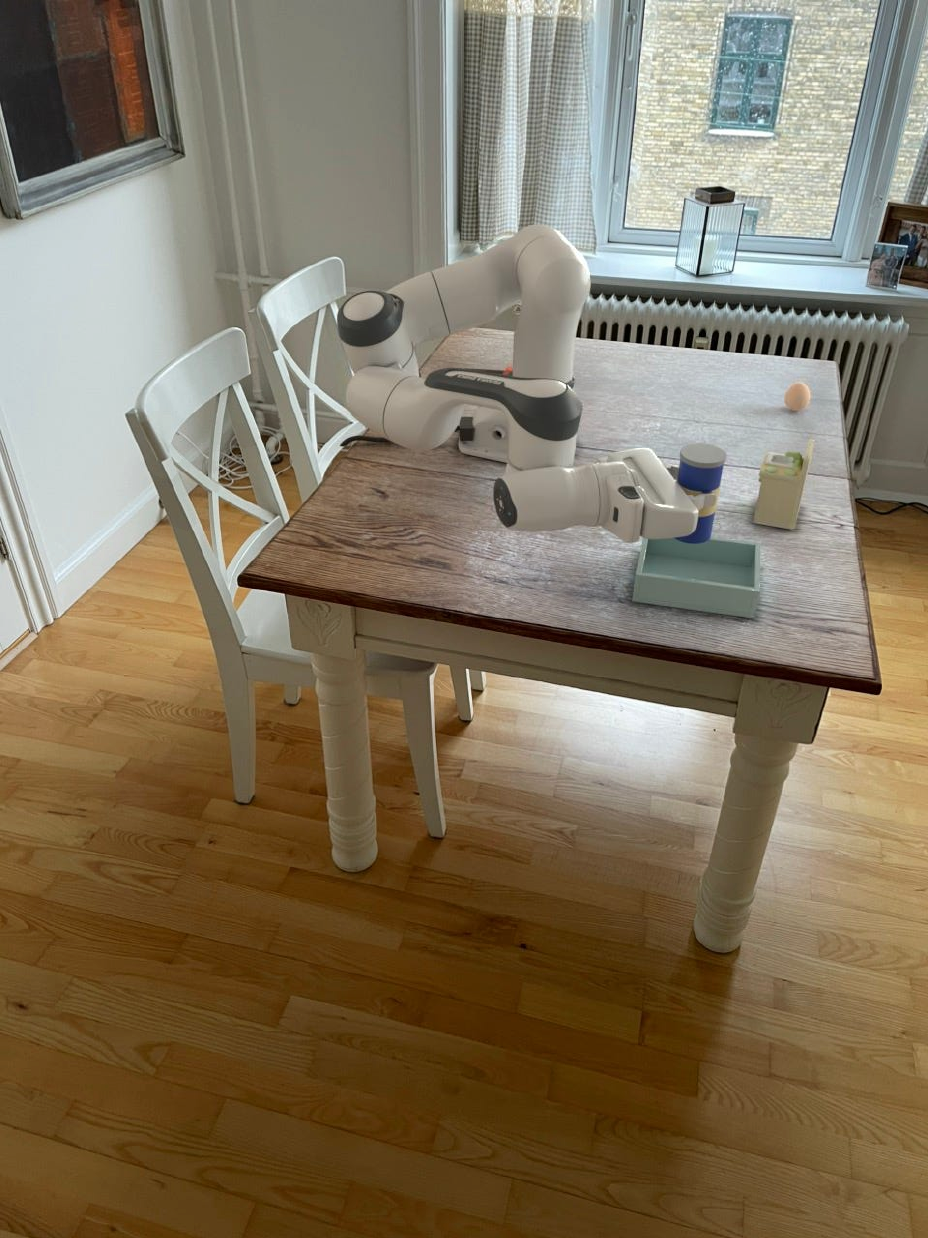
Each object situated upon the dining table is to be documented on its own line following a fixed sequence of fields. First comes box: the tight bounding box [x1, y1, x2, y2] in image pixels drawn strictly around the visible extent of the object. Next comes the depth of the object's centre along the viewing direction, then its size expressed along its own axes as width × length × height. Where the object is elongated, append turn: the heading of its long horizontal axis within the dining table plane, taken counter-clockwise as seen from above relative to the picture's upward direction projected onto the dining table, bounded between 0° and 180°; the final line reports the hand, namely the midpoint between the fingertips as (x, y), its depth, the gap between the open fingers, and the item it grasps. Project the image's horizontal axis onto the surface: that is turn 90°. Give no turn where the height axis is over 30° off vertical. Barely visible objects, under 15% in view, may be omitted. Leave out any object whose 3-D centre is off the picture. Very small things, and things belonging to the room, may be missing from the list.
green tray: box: [632, 536, 762, 619], centre depth 145 cm, size 18×14×5 cm
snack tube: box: [675, 442, 727, 544], centre depth 138 cm, size 6×6×13 cm
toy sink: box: [753, 439, 816, 531], centre depth 160 cm, size 8×7×13 cm
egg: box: [783, 381, 811, 412], centre depth 197 cm, size 5×5×6 cm
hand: (704, 485), depth 137 cm, fingers closed on snack tube, 6 cm apart
